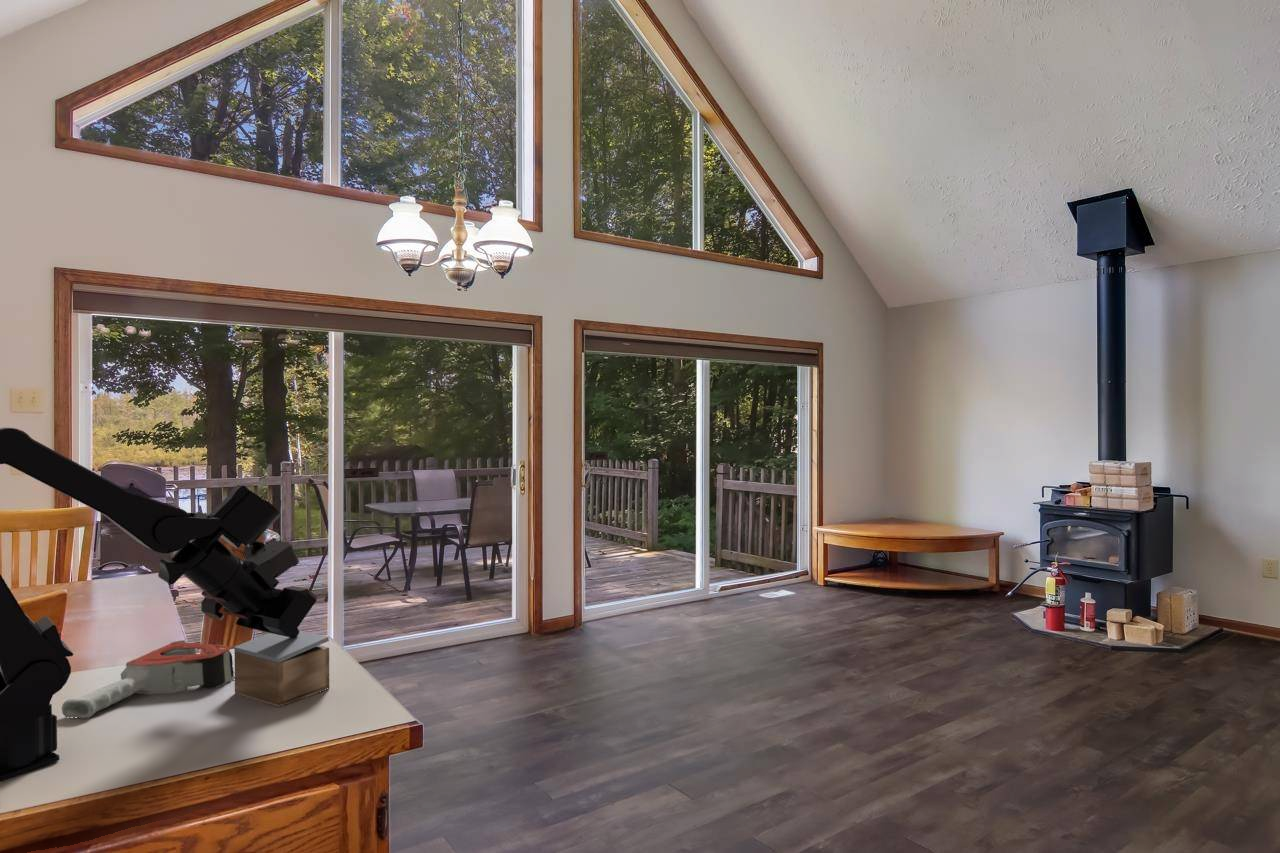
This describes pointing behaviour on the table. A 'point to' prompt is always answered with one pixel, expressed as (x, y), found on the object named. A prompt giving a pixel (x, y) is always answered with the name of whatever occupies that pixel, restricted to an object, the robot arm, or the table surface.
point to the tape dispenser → (160, 675)
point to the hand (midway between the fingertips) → (296, 635)
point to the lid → (280, 645)
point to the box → (282, 676)
